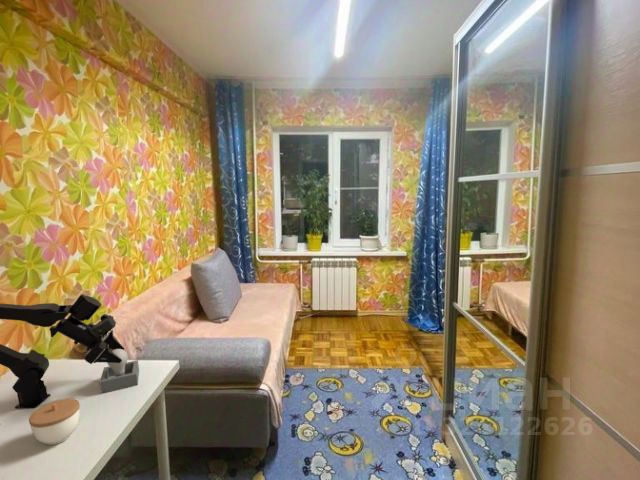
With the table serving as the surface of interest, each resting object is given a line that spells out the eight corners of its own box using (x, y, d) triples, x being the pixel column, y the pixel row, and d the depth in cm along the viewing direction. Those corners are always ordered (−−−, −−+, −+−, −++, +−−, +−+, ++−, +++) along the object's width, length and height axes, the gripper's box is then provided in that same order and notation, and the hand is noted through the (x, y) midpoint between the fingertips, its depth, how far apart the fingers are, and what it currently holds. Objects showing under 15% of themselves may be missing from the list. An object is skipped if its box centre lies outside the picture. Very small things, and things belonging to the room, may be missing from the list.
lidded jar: (40, 430, 98) (35, 399, 97) (86, 418, 103) (81, 388, 101) (28, 457, 89) (21, 422, 87) (79, 443, 93) (73, 409, 91)
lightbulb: (127, 384, 118) (122, 352, 117) (107, 386, 117) (102, 355, 115) (133, 374, 124) (128, 344, 122) (114, 377, 123) (109, 346, 121)
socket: (101, 393, 115) (99, 382, 114) (105, 378, 124) (104, 367, 124) (137, 385, 119) (136, 373, 118) (139, 370, 128) (137, 360, 128)
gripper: (91, 320, 107) (137, 346, 114) (100, 302, 124) (140, 326, 130) (64, 351, 106) (112, 376, 112) (77, 328, 122) (118, 351, 129)
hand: (122, 355), depth 121 cm, fingers open, 9 cm apart
